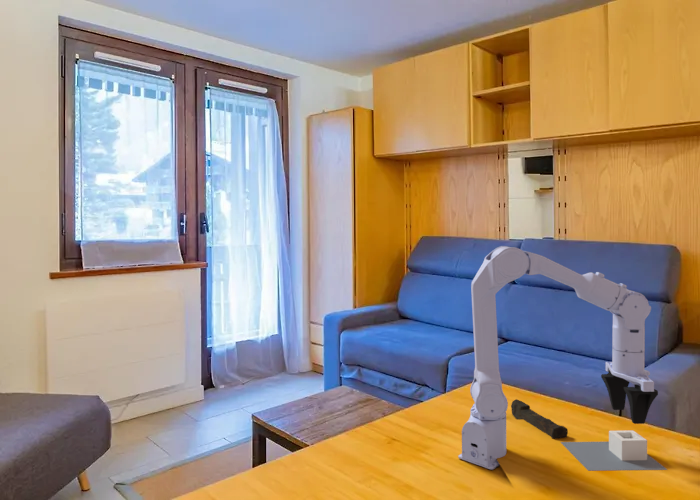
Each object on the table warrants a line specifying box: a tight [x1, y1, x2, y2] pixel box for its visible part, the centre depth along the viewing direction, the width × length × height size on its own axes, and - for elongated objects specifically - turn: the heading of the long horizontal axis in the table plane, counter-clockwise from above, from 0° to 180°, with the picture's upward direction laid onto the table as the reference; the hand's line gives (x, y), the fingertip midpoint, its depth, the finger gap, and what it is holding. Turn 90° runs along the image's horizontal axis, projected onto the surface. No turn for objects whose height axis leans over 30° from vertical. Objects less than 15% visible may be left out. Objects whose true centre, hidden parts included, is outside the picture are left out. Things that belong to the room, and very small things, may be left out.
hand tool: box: [510, 398, 569, 440], centre depth 121 cm, size 19×4×5 cm, turn 13°
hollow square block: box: [608, 430, 648, 461], centre depth 103 cm, size 5×5×4 cm
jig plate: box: [560, 438, 668, 472], centre depth 103 cm, size 15×13×4 cm
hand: (627, 416), depth 103 cm, fingers open, 7 cm apart
